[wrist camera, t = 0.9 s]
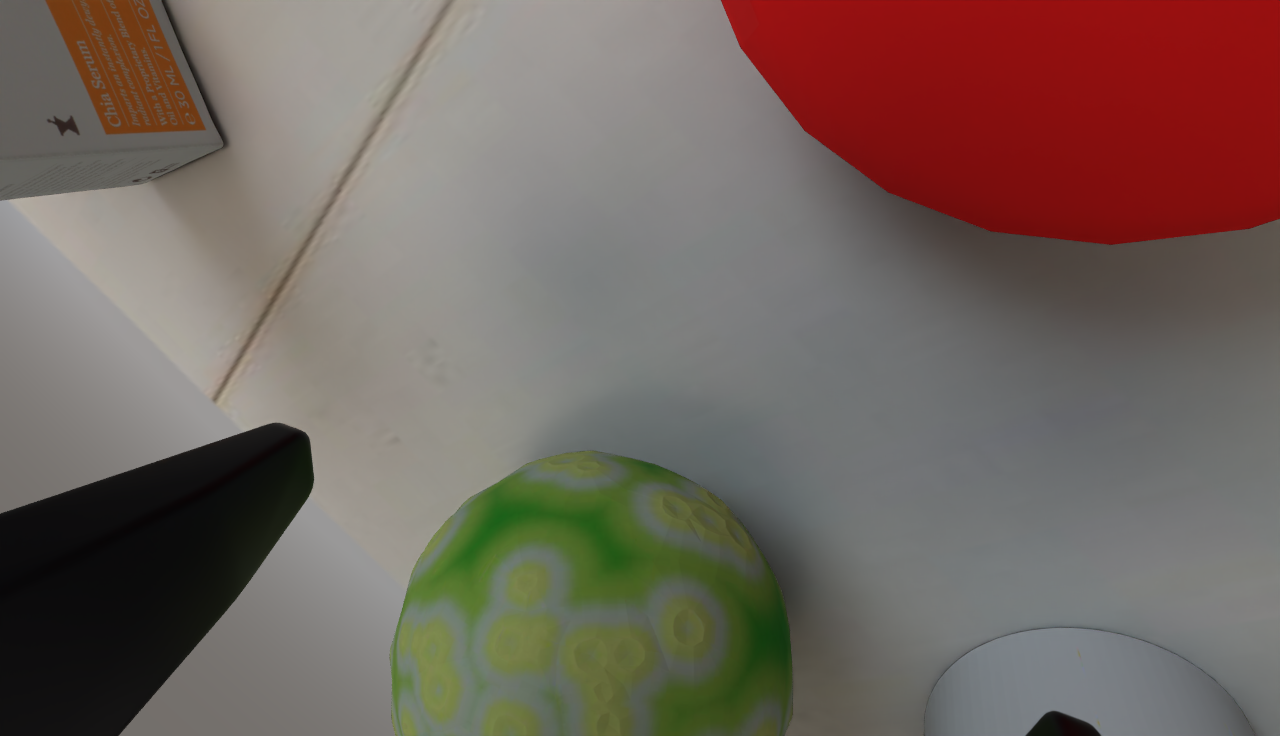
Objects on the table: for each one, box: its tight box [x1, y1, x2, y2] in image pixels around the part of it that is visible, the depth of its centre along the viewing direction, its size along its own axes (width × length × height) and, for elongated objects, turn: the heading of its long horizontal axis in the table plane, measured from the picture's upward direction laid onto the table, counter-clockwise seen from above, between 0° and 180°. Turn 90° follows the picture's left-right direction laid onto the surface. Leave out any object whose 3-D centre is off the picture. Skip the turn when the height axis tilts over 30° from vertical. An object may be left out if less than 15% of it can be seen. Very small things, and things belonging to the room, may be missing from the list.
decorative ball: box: [390, 451, 793, 736], centre depth 19 cm, size 10×10×10 cm
